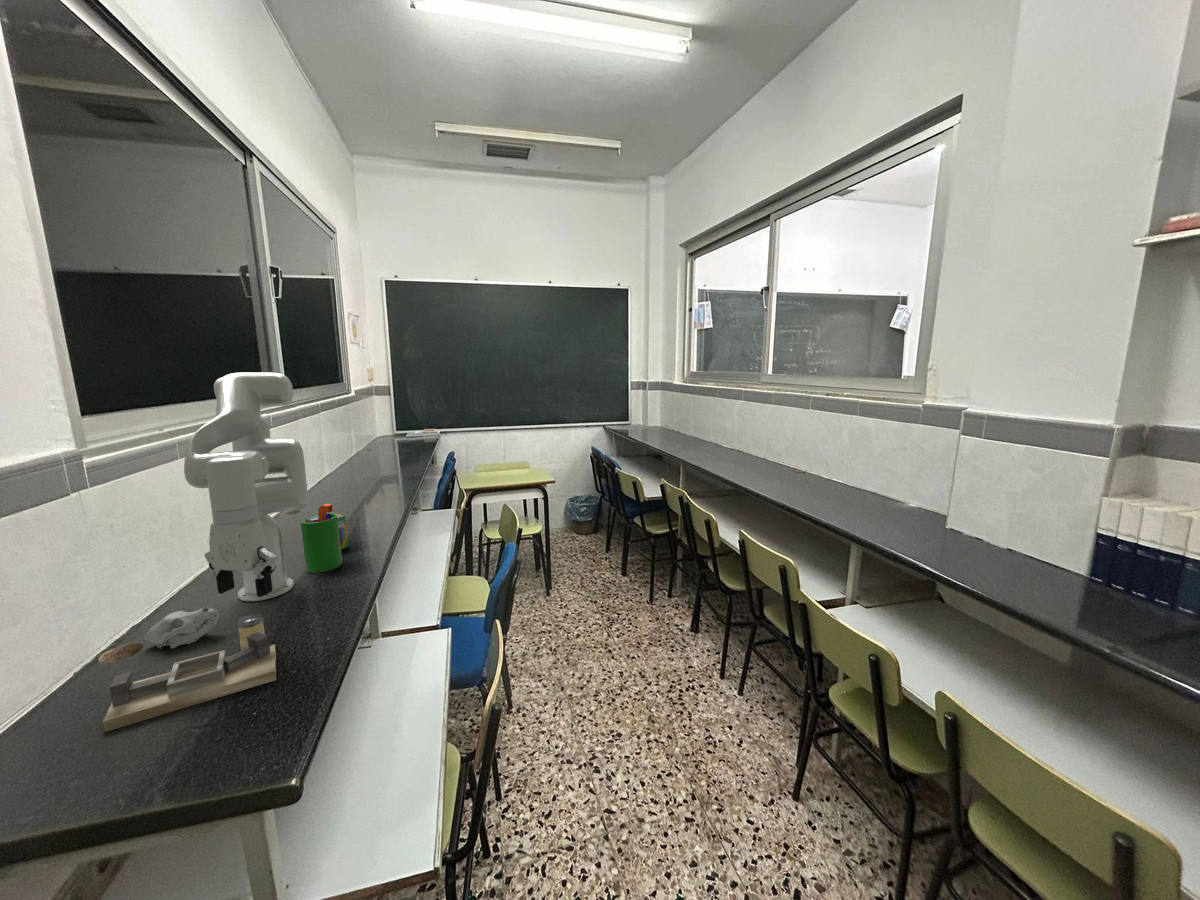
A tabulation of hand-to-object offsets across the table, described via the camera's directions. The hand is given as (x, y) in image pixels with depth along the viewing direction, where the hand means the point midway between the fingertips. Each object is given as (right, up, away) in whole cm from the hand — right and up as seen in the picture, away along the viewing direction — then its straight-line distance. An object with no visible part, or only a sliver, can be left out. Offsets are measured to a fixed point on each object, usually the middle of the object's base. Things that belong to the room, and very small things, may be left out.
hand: (245, 592), depth 100 cm
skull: (-18, -13, +6) cm, 23 cm away
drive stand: (-1, -16, -10) cm, 18 cm away
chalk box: (-17, -4, +59) cm, 61 cm away
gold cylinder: (-1, -13, +3) cm, 14 cm away
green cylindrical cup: (-10, -6, +46) cm, 47 cm away
